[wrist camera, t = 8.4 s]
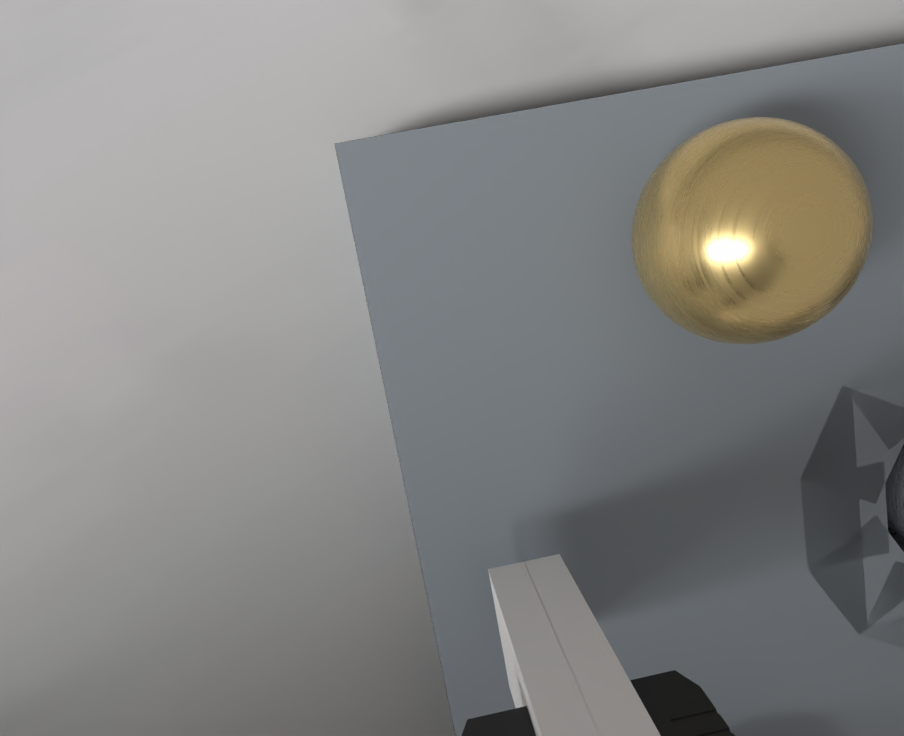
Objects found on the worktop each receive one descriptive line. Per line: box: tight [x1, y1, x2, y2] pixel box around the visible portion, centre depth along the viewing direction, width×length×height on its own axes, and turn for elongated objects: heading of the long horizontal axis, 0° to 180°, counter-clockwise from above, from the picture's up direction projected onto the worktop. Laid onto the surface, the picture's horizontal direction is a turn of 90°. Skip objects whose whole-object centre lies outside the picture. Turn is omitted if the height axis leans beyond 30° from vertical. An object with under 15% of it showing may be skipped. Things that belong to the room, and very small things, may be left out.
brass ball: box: [631, 117, 873, 344], centre depth 13 cm, size 4×4×4 cm
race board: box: [335, 43, 904, 736], centre depth 17 cm, size 18×20×5 cm
